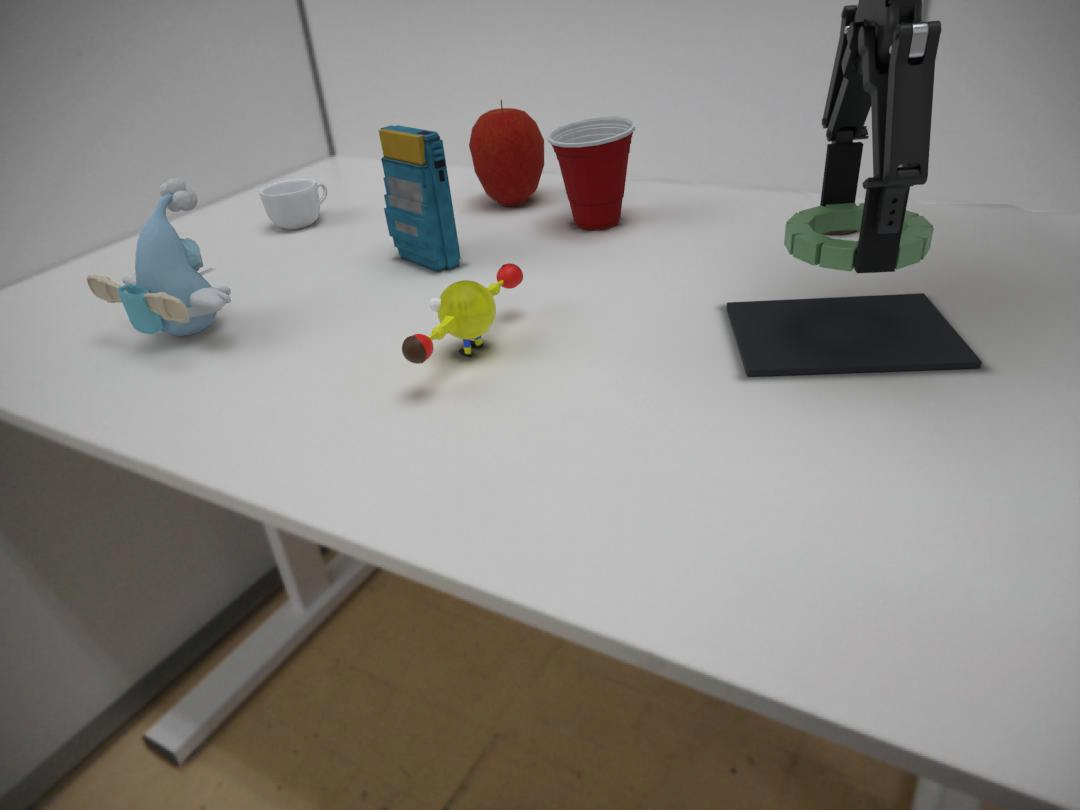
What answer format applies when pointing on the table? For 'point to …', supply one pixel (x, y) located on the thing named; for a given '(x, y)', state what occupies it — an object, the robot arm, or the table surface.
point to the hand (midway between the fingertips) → (853, 243)
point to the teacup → (292, 202)
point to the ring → (841, 254)
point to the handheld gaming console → (419, 197)
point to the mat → (846, 336)
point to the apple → (507, 155)
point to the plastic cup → (594, 167)
